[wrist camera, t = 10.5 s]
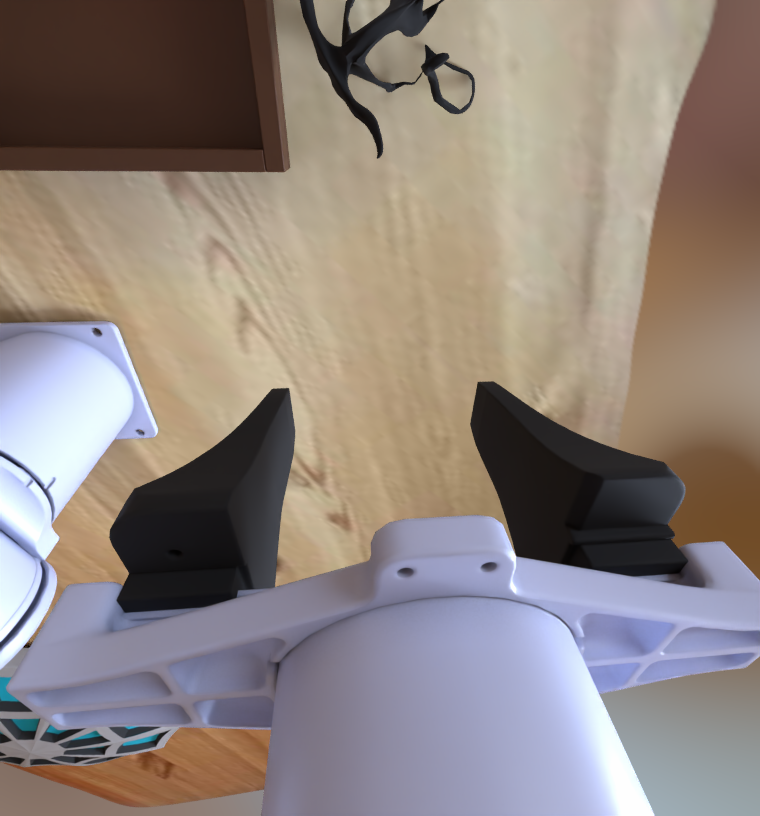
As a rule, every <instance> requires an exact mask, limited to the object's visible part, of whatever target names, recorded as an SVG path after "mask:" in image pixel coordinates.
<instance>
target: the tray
mask: <svg viewBox="0 0 760 816" xmlns="http://www.w3.org/2000/svg"><path fill="white" fill-rule="evenodd" d="M289 168H290V162H289V152H288V142H287V132H286V122H285V113H284V103H283V93H282V83H281V74H280V64H279V54H278V44H277V35H276V25H275V15H274V5H273V0H0V170H29V171H189V172H266V171H267V172H285V171H286V170H288V169H289Z"/></svg>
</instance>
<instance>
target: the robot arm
mask: <svg viewBox="0 0 760 816" xmlns="http://www.w3.org/2000/svg"><path fill="white" fill-rule="evenodd" d="M95 328H98V329H99V330H100V331H101V332H102V334H100V333H98V332H96V330H95ZM470 425H471V429H472V433H473V437H474V440H475V443H476V446H477V449H478V451H479V453H480V456H481V458H482V460H483V462H484V465H485V467H486V469H487V471H488V473H489V476H490V478H491V480H492V482H493V484H494V487H495V489H496V491H497V494H498V496H499V499H500V502H501V505H502V508H503V511H504V514H505V517H506V521H507V524H508V528H509V531H510V534H511V538H512V541H513V545H514V549H515V553H516V556H515V554H514V551H513V549H512V546H511V544H510V541H509V539H508V537H507V534H506V532H505V529H504V527H503V524H501V523H500V522H499V521H497V520H496V519H495V518H493V517H488V516H480V515H466V516H449V517H432V518H414V519H402V520H398V521H394V522H389V523H388V524H386V525H385V526H383V527H382V528H381V529H379V530H378V531H376V532H375V534H374V537H373V539H372V542H371V556H370V560H369V561H366V562H362V563H359V564H355V565H352V566H348V567H345V568H341V569H338V570H334V571H331V572H327V573H324V574H320V575H316V576H313V577H309V578H306V579H302V580H299V581H295V582H292V583H288V584H285V585H281V586H278V587H275V579H276V565H277V553H278V541H279V531H280V521H281V511H282V505H283V500H284V495H285V491H286V486H287V482H288V477H289V473H290V468H291V463H292V459H293V454H294V442H295V426H294V419H293V412H292V405H291V398H290V391H289V388H280V389H272V390H271V391H270V392H269V393H268V394H267V395H266V397H265V398H264V399H263V400H262V401H261V402H260V404H259V405H258V406H257V407H256V408H255V409H254V410H253V411H252V413H251V414H250V415H249V416H248V417H247V418H246V419H245V420H244V421H243V422H242V423H241V424H240V425H239V426H238V427H237V428H236V429H235V430H234V431H233V432H232V433H231V434H229V435H228V436H227V437H226V438H225V439H223V440H222V441H221V442H219V443H218V444H217V445H216V446H214V447H213V448H211V449H210V450H208V451H207V452H205V453H204V454H202V455H201V456H199V457H198V458H196V459H195V460H193V461H191V462H190V463H188V464H186V465H184V466H183V467H181V468H179V469H177V470H175V471H173V472H171V473H169V474H167V475H165V476H163V477H161V478H159V479H156V480H154V481H152V482H149V483H147V484H145V485H142V486H140V487H138V488H135V489H134V490H133V492H132V493H131V495H130V496H129V498H128V499H127V501H126V502H125V504H124V506H123V508H122V510H121V511H120V513H119V515H118V517H117V518H116V520H115V522H114V524H113V525H112V527H111V529H110V537H109V538H110V541H111V543H112V546H113V548H114V549H115V551H116V552H117V554H118V556H119V557H120V559H121V561H122V562H123V564H124V565H125V567H126V569H127V570H128V572H129V575H128V577H127V579H126V581H125V584H124V586H122V585H121V584H118V583H116V582H96V583H80V584H71V585H68V586H67V587H66V588H65V590H64V592H63V593H62V595H61V597H60V598H59V600H58V602H57V603H56V605H55V607H54V608H53V610H52V612H51V613H50V615H49V617H48V618H47V620H46V621H45V623H44V625H43V626H42V628H41V630H40V631H39V633H38V635H37V636H36V638H35V640H34V641H33V643H32V645H31V646H30V648H29V650H28V651H27V653H26V655H25V656H24V658H23V660H22V661H21V663H20V665H19V666H18V668H17V670H16V671H15V673H14V675H13V676H12V678H11V680H10V681H9V683H8V685H7V686H6V690H7V692H8V693H10V694H11V695H12V696H13V697H15V698H16V699H17V700H19V701H20V702H21V703H23V704H24V705H25V706H27V707H28V708H29V709H31V710H32V711H33V712H35V713H36V714H37V715H38V716H40V717H41V718H42V719H44V720H45V721H46V722H48V723H49V724H50V725H52V726H53V727H54V728H56V729H57V730H68V729H82V728H96V727H126V726H149V727H193V728H227V729H260V730H271V736H270V744H269V753H268V762H267V770H266V779H265V787H264V796H263V805H262V813H261V816H655V815H654V813H653V811H652V809H651V807H650V804H649V802H648V800H647V798H646V796H645V793H644V791H643V789H642V787H641V785H640V782H639V780H638V778H637V776H636V774H635V772H634V769H633V767H632V765H631V763H630V761H629V759H628V756H627V754H626V752H625V750H624V748H623V745H622V743H621V741H620V739H619V737H618V734H617V732H616V730H615V728H614V726H613V724H612V721H611V719H610V717H609V715H608V713H607V710H606V708H605V706H604V704H603V702H602V699H601V697H600V695H599V694H602V693H606V692H611V691H615V690H620V689H625V688H629V687H634V686H639V685H643V684H648V683H652V682H657V681H662V680H666V679H672V678H677V677H682V676H687V675H693V674H700V673H706V672H713V671H721V670H729V669H739V668H745V667H747V666H748V665H749V664H751V663H752V662H753V661H754V660H755V659H757V658H758V657H759V656H760V581H759V580H758V579H757V577H756V576H755V575H754V574H753V573H752V572H751V571H750V570H749V569H748V568H747V567H746V566H745V564H743V562H742V561H741V560H740V559H739V558H738V557H737V556H736V555H735V554H734V553H733V552H732V550H731V549H730V548H729V547H728V546H727V545H726V544H725V543H724V542H707V543H691V544H686V545H684V546H682V547H680V548H679V549H678V548H677V546H676V545H675V544H674V543H673V541H672V540H671V539H673V538H674V536H675V534H674V532H673V531H672V529H671V528H670V527H669V526H668V525H667V524H668V523H669V521H670V520H671V518H672V517H673V515H674V514H675V512H676V511H677V509H678V508H679V506H680V505H681V502H682V501H683V499H684V496H685V486H684V484H683V482H682V481H681V479H680V478H679V477H678V476H677V475H676V474H675V473H674V472H673V471H672V470H671V469H670V468H669V467H668V466H667V465H666V464H665V463H664V462H661V461H657V460H653V459H649V458H645V457H641V456H638V455H634V454H630V453H627V452H624V451H621V450H618V449H615V448H612V447H609V446H606V445H603V444H601V443H598V442H596V441H593V440H591V439H588V438H586V437H584V436H581V435H579V434H577V433H575V432H573V431H571V430H569V429H567V428H565V427H563V426H561V425H559V424H557V423H555V422H554V421H552V420H550V419H549V418H547V417H545V416H544V415H542V414H540V413H539V412H537V411H536V410H534V409H533V408H531V407H530V406H528V405H527V404H525V403H524V402H522V401H521V400H520V399H518V398H517V397H515V396H514V395H513V394H511V393H510V392H508V391H507V390H506V389H504V388H503V387H501V386H500V385H498V384H497V383H495V382H478V384H477V389H476V395H475V401H474V406H473V412H472V417H471V423H470ZM138 429H139V430H142V431H143V432H141V431H139V430H138ZM157 432H158V428H157V425H156V423H155V420H154V418H153V415H152V413H151V410H150V408H149V405H148V403H147V400H146V398H145V395H144V392H143V390H142V387H141V385H140V382H139V380H138V377H137V375H136V372H135V370H134V367H133V365H132V362H131V360H130V357H129V355H128V352H127V350H126V347H125V345H124V342H123V340H122V337H121V335H120V332H119V329H118V328H117V326H116V325H115V324H113V323H111V322H109V321H81V322H31V323H0V670H1V669H2V668H3V667H4V666H5V665H6V664H7V663H8V662H9V661H10V660H11V659H12V658H13V657H14V656H15V655H16V654H17V653H18V652H19V651H20V650H21V649H22V648H23V646H24V645H25V644H26V643H27V642H28V640H29V639H30V638H31V636H32V635H33V634H34V632H35V631H36V629H37V628H38V626H39V625H40V623H41V621H42V619H43V618H44V616H45V614H46V612H47V610H48V608H49V606H50V604H51V602H52V600H53V597H54V594H55V591H56V585H57V577H56V573H55V571H54V569H53V567H52V566H51V565H50V564H49V563H48V562H47V561H45V559H46V558H47V556H48V555H49V553H50V552H51V550H52V549H53V547H54V546H55V545H56V543H57V542H58V540H59V536H58V535H57V534H56V533H55V532H54V530H53V529H52V526H51V524H52V523H53V521H54V520H55V519H56V517H57V516H58V515H59V513H60V512H61V511H62V509H63V508H64V507H65V505H66V504H67V502H68V501H69V500H70V498H71V497H72V496H73V494H74V493H75V492H76V490H77V489H78V487H79V486H80V485H81V483H82V482H83V481H84V479H85V478H86V477H87V475H88V474H89V473H90V471H91V470H92V468H93V467H94V466H95V464H96V463H97V462H98V460H99V459H100V458H101V456H102V455H103V453H104V452H105V451H106V449H107V448H108V447H109V445H110V444H111V443H112V441H113V440H114V439H133V438H152V437H155V436H156V434H157Z"/></svg>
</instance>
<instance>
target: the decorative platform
mask: <svg viewBox="0 0 760 816" xmlns="http://www.w3.org/2000/svg"><path fill="white" fill-rule="evenodd" d="M28 650H29V648H22V649H21V650H20V651H19V652H18V653H17V654H16V655H15V656H14V657H13V658H12V659H11V660H10V661H9V662H8V663H7V664H6V665H5V666H4V667H3V668H2V669H1V670H0V762H5V763H10V764H15V765H18V766H22V767H31V766H41V765H73V766H87V765H94V764H98V763H103V762H106V761H110V760H113V759H116V758H120V757H123V756H127V755H131V754H137V753H142V752H147V751H151V750H155V749H159V748H163V747H164V746H165V744H166V742H167V741H168V739H169V738H170V737H171V735H172V734H173V733H174V732H175V731H177V730H178V729H179V728H180V727H149V726H126V727H96V728H82V729H68V730H57V729H56V728H54V727H53V726H52V725H50V724H49V723H48V722H46V721H45V720H44V719H42V718H41V717H40V716H38V715H37V714H36V713H35V712H33V711H32V710H31V709H29V708H28V707H27V706H25V705H24V704H23V703H21V702H20V701H19V700H17V699H16V698H15V697H13V696H12V695H11V694H10V693H8V692H7V690H6V686H7V685H8V683H9V681H10V680H11V678H12V676H13V675H14V673H15V671H16V670H17V668H18V666H19V665H20V663H21V661H22V660H23V658H24V656H25V655H26V653H27V651H28Z"/></svg>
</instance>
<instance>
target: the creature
mask: <svg viewBox="0 0 760 816" xmlns="http://www.w3.org/2000/svg"><path fill="white" fill-rule="evenodd" d="M354 1H355V0H347V1H346V5H345V13H344V20H343V30H342V46H341V47H338V46H334V45H332V44H331V43H329V42H328V41H327V40H326V38H325V37H324V36H323V35H322V33H321V31H320V29H319V27H318V24H317V20H316V15H315V10H314V4H313V0H300V4H301V9H302V13H303V18H304V20H305V23H306V25H307V27H308V30H309V32H310V35H311V38H312V40H313V43H314V46H315V49H316V52H317V57H318V60H319V63H320V64H321V66H322V68H323V69H324V70H325V71H326V72H327V73H328V75H329V77H330V79H331V82H332V86H333V87H334V89H335V91H336V93H337V94H338V95H339V96H340V97H341V98H342V99H343V100H344V101H345V102H346V104H347V106H348V107H349V109H350V110H351V112H352V113H353V115H354V116H355V117H356V118H358V119H359V120H360V121H361V122H363V123H364V124H365V125H366V126H367V127H368V129H369V131H370V132H371V134H372V135H373V138H374V140H375V143H376V146H377V152H378V155H377V159H378V158H380V157H381V155H382V153H383V142H382V136H381V133H380V129H379V125H378V122H377V120H376V118H375V117H374V115H373V114H372V113H371V112H370V111H369V110H368V109H367V108H365V107H363V106H362V105H360V104H359V103H358V102H356V101H355V99H354V98H353V96H352V94H351V92H350V90H349V87H348V83H347V82H348V75H349V74H353V75H356V76H358V77H360V78H362V79H365V80H367V81H370V82H372V83H374V84H376V85H378V86H381V87H383V88H385V89H386V91H387V92H392V91H394V90H395V89H397V88H399V87H401V86H403V85H413V84H415V83H416V81H417V80H418V79H419V78H420V77H421V75H422V73H421V74H420V76H419V77H418V78H417V80H416V81H415V82H412V83H410V82H400V83H395V84H391V83H386V82H382V81H379V80H378V79H377V78H376V77H375V76H374V75H373V74H372V72H371V71H370V69H369V67H368V66H367V65H366V63H365V58H366V56H367V54H368V53H369V51H370V50H371V48H372V47H373V46H374V45H375V44H376V43H377V42H378V41H379V40H381V39H382V38H383V37H384V36H385V35H387V34H389V33H391V32H394V31H396V30H399V31H401V32H402V33H403V35H405V36H407V37H413V36H416V35H418V34H419V33H420V32H421V31H422V30H423V28H424V27H425V25H426V24H427V23H428V22H429V20H430V19H431V18H432V17H433V15H434V14H435V12H436V10H437V8H438V5H439V4H440V3H441V2H443V1H444V0H440V1H439V2H438V3H436V4H434V5H432V6H431V7H429V8H427V9H426V10H424V11H422V7H423V0H391V1H390V6H389V7H388V8H387V9H386V10H385V11H384V12H383V13H382V14H381V15H379V16H378V17H377V18H375V19H374V20H372V21H371V22H370V23H368V24H367V25H365V26H364V27H363V28H361V29H360V30H358V31H357V32H355V33H351V30H350V27H349V22H348V16H349V12H350V8H351V7H352V6H353V3H354ZM425 51H426V60H425V63H424V64H423V65H422V66H421V68H422V70H423V71H422V72H424V74H425V75H426V76H428V81H429V83H430V87H431V93H432V96H433V99H434V101H435V102H436V103H438V104H439V105H440V106H442V107H443V108H444V109H445V110H447V111H448V112H449V113H453V114H461V113H463V112H465V111H466V110H467V109H468V108H469V107H470V105H471V103H472V101H473V98H474V92H475V81H474V77H473V75H472V74H471V73H470V72H469V71H467V70H464V69H462V68H459V67H457V66H454V65H452V64H450V63H448V62H446V61H447V59H448V58H449V55H448V53H440V54H437V55H436V54H435V53H434V52H433V51H432V50H431V49H430V48H429V47H428V46H427V45H425ZM443 64H445V65H447V66H448V67H450V68H451V69H453V70H456V71H458V72H461V73H464V74H466V75H468V76H469V78H470V79H471V80H472V96H471V99H470V102H469V103H468V104H467V105H466V106H464V107H463V108H462V109H461V110H459V109H458V108H456V107H455V106H454V105H452V104H451V103H449V102H448V101H446V100H445V99H444V98H442V95H441V92H440V89H439V83H438V79H437V76H436V73H435V71H434V70H435V69H437V68H438V67H440V66H441V65H443Z"/></svg>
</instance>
